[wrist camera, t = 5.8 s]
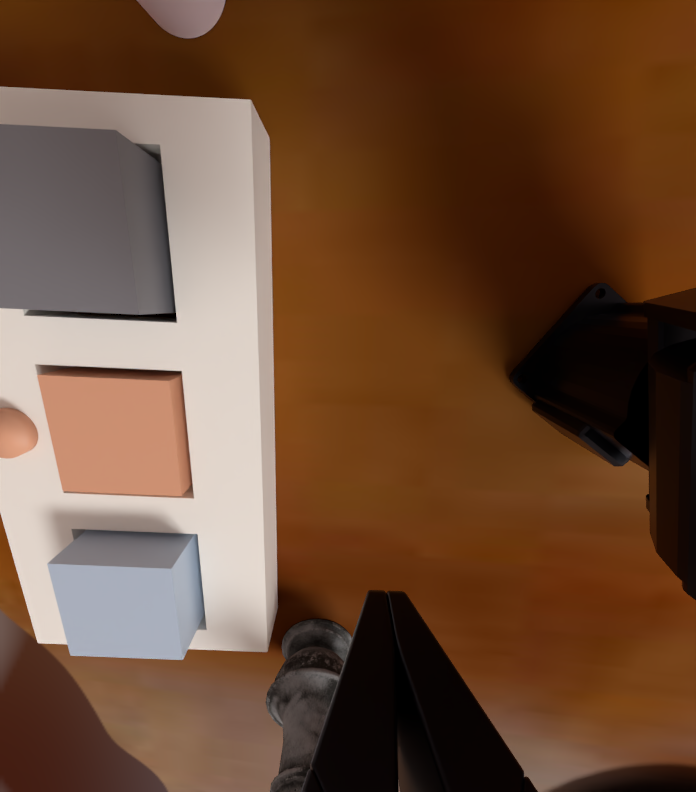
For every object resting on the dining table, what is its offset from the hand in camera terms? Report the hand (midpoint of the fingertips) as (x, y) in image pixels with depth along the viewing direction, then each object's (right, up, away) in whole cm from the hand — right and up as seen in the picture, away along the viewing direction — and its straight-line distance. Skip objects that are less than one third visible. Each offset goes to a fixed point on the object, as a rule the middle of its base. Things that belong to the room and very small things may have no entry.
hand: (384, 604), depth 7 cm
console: (-12, +4, +11) cm, 17 cm away
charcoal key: (-12, +12, +7) cm, 18 cm away
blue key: (-13, -6, +12) cm, 18 cm away
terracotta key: (-12, +3, +11) cm, 17 cm away
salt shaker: (-3, -14, +17) cm, 22 cm away
